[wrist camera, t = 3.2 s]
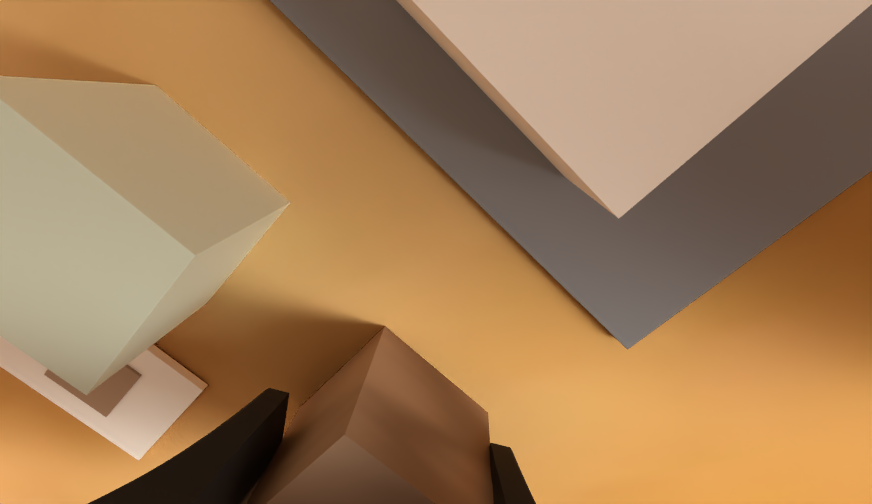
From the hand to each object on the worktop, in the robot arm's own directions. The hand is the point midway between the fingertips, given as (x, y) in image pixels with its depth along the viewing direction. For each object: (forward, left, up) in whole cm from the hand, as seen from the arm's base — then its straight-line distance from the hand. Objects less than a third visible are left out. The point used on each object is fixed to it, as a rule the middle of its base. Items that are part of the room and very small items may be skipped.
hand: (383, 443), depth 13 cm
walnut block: (0, 0, -1) cm, 1 cm away
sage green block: (+9, -1, -2) cm, 9 cm away
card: (+8, +6, -1) cm, 10 cm away
